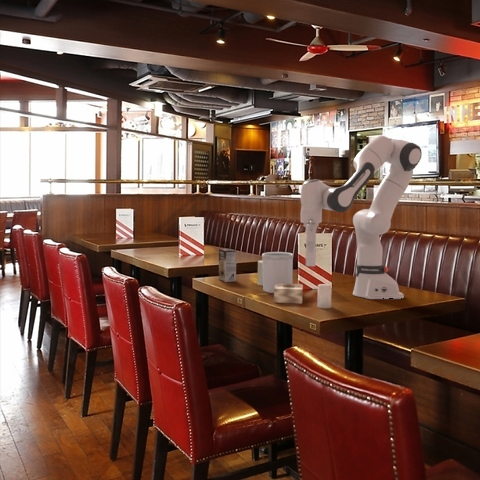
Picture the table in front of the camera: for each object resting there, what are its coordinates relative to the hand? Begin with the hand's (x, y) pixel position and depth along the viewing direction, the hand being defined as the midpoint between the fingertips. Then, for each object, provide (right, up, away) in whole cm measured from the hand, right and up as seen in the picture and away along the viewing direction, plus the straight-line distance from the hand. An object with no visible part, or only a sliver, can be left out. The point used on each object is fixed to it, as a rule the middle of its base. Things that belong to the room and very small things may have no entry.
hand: (310, 251), depth 232 cm
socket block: (-9, -21, +7) cm, 24 cm away
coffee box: (-37, -16, +54) cm, 67 cm away
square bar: (0, -6, +1) cm, 6 cm away
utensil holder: (-13, -19, +28) cm, 36 cm away
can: (-17, -18, +43) cm, 50 cm away
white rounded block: (+5, -23, -5) cm, 24 cm away
